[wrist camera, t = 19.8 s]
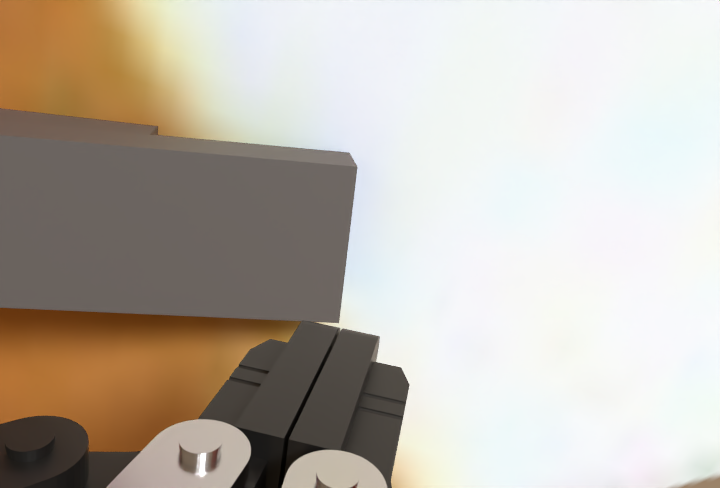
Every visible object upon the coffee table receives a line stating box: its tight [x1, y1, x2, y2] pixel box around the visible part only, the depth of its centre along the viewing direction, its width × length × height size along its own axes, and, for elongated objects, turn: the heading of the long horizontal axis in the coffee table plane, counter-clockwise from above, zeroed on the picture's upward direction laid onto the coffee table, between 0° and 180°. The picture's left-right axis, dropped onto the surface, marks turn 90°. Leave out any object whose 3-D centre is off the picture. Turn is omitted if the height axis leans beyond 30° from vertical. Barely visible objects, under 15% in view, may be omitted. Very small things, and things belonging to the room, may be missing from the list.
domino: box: [0, 121, 357, 323], centre depth 18 cm, size 2×5×11 cm
